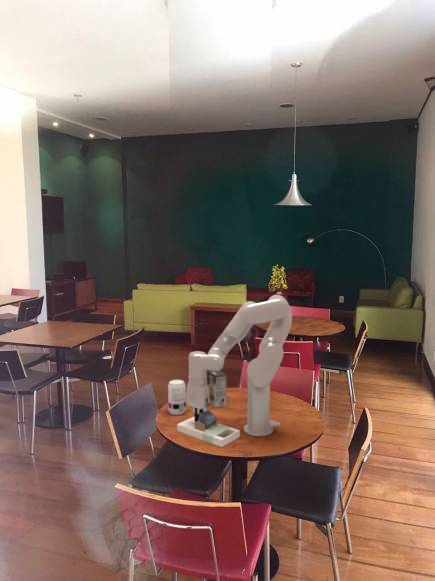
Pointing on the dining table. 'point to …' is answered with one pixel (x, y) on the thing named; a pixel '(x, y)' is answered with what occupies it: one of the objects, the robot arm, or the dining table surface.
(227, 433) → the board
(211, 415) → the block
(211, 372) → the coffee box
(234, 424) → the dining table surface
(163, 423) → the dining table surface
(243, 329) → the robot arm
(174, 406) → the supplement can
